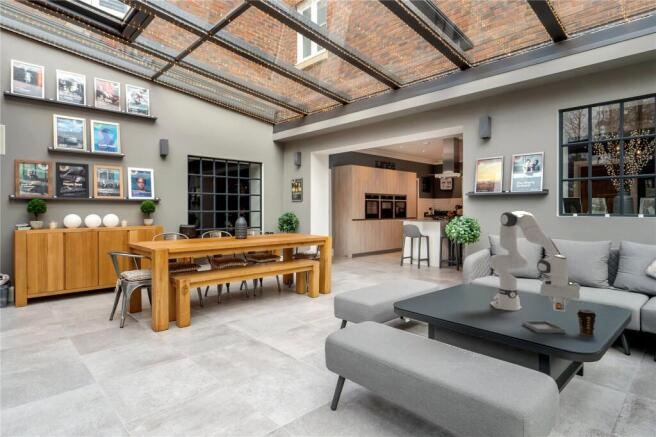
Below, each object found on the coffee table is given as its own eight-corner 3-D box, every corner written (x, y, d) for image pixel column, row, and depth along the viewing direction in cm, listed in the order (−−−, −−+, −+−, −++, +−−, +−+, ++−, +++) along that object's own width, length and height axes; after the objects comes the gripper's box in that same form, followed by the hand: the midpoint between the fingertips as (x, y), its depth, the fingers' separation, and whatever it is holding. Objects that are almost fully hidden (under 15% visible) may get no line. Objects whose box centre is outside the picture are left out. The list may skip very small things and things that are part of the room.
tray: (522, 325, 213) (522, 320, 213) (546, 324, 214) (546, 320, 214) (538, 333, 197) (538, 329, 197) (564, 333, 198) (564, 329, 198)
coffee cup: (588, 331, 201) (588, 308, 201) (600, 336, 193) (600, 312, 193) (574, 331, 201) (573, 309, 201) (585, 336, 192) (585, 313, 192)
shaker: (553, 308, 215) (553, 295, 215) (563, 309, 213) (564, 296, 212) (554, 311, 210) (554, 297, 210) (565, 312, 207) (565, 299, 207)
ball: (554, 307, 213) (555, 302, 214) (559, 308, 213) (560, 303, 214) (558, 308, 210) (558, 303, 211) (563, 309, 210) (563, 304, 211)
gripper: (579, 282, 208) (579, 305, 209) (539, 279, 218) (539, 301, 219) (581, 284, 203) (580, 307, 203) (540, 281, 213) (540, 303, 213)
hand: (559, 304), depth 211 cm, fingers closed on shaker, 5 cm apart
